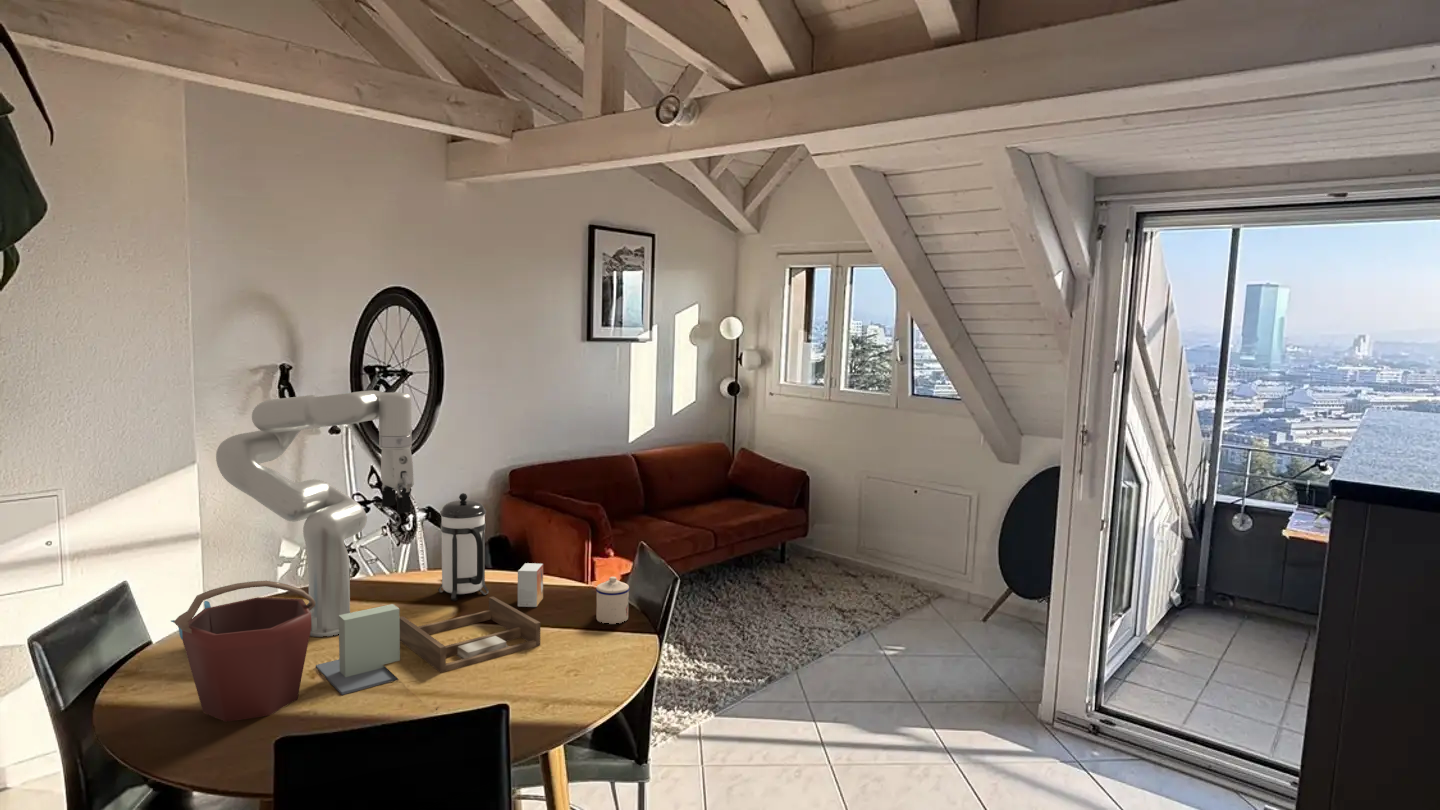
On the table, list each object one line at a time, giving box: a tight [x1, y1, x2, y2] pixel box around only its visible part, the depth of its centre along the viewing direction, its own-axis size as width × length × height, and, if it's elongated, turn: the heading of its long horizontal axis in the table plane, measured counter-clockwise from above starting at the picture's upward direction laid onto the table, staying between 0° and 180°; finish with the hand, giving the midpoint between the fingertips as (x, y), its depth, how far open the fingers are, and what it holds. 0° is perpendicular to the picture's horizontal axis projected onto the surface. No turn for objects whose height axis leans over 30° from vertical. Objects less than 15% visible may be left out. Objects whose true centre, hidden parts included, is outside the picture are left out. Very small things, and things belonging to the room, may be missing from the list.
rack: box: [400, 596, 541, 673], centre depth 197 cm, size 25×25×7 cm
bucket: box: [173, 580, 316, 723], centre depth 166 cm, size 24×22×25 cm
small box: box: [517, 562, 544, 608], centre depth 230 cm, size 8×6×10 cm
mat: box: [315, 659, 400, 696], centre depth 183 cm, size 18×18×1 cm
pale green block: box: [338, 603, 401, 677], centre depth 182 cm, size 12×4×13 cm, turn 133°
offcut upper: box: [457, 636, 507, 659], centre depth 191 cm, size 10×5×2 cm, turn 136°
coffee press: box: [437, 493, 490, 602], centre depth 235 cm, size 17×16×30 cm
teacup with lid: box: [595, 576, 631, 625], centre depth 220 cm, size 12×9×12 cm
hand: (396, 509), depth 202 cm, fingers open, 9 cm apart
